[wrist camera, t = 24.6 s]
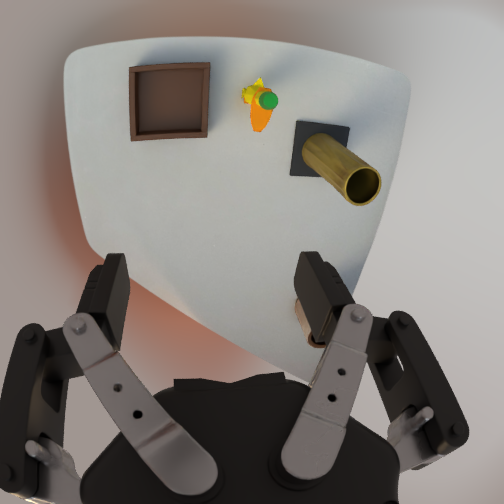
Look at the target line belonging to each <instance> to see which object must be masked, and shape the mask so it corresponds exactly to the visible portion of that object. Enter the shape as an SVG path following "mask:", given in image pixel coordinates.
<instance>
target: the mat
mask: <svg viewBox="0 0 504 504" xmlns="http://www.w3.org/2000/svg"><path fill="white" fill-rule="evenodd" d="M349 130H350V128H349V127H344V126H337V125H329V124H322V123H313V122H303V121H296V129H295V138H294V146H293V154H292V161H291V169H290V176H309V177H322V176H321V175H319V174H318V173H317V172H316V171H315V170H313V169H312V168H311V167H309V166H308V165H307V164H306V163H305V162H304V159H303V156H302V149H303V146H304V144H305V142H306V141H307V139H308V138H309V137H311V136H313V135H315V134H318V133H324V134H327V135H330V136H331V137H333V139H335V140H336V141H337V142H339V143H340V144H341V145H343V146H344V147H347V141H348V136H349Z"/></svg>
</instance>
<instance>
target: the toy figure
mask: <svg viewBox="0 0 504 504" xmlns="http://www.w3.org/2000/svg"><path fill="white" fill-rule="evenodd" d="M243 97H244V103H247V104H248V103H249V104H251V113H250V118H251V124H252V127H253V130H254V131H256V132H261V131H262V130H263V129H264V128H265V127H266V125H267V123H268V122H269V120H270V117H271V114H272V111H273V109H274V108H275V107H276V106H277V104H278V98H277V96H276V94H274V93H273V92H272V91H271V89H269V88H264V85H263V83H262V80H261V77H260V78H259V79H258V80H257V81H256V82H255V83H254V84H253V85H251V86H248V87H247V89H246V88H243V90H242V98H243Z"/></svg>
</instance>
